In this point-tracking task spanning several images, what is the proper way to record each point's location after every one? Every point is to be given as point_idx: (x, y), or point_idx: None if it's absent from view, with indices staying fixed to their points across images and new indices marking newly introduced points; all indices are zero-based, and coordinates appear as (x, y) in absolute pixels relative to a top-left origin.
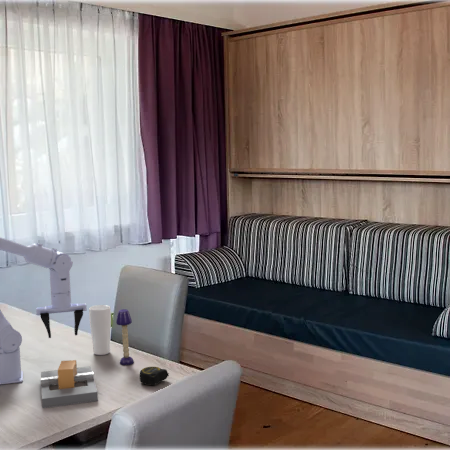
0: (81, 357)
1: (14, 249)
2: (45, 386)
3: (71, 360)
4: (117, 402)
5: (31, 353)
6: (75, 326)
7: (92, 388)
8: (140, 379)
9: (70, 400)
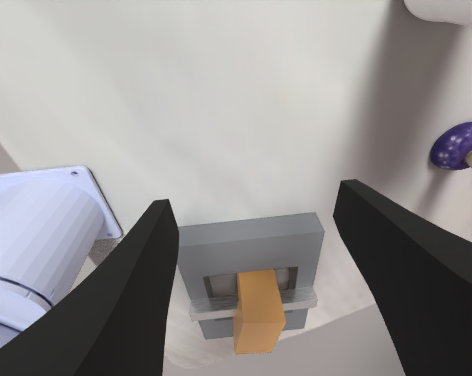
0: (322, 18)
1: None
2: None
3: (272, 323)
4: (327, 314)
5: None
6: (366, 281)
7: (298, 320)
8: None
9: None
